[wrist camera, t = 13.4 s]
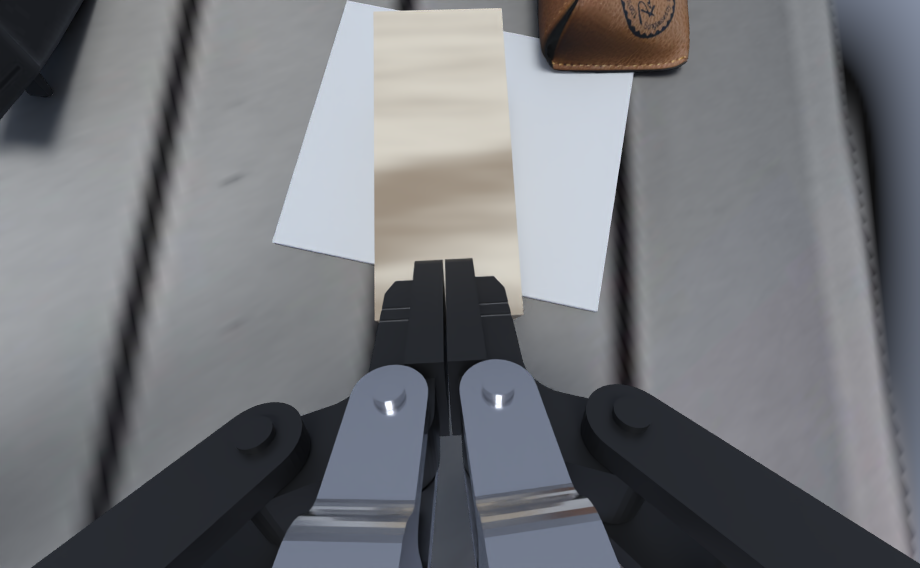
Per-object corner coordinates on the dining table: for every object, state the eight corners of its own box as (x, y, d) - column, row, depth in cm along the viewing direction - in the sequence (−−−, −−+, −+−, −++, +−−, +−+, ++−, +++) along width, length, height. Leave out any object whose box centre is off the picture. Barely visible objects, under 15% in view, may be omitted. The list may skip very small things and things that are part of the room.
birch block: (523, 314, 12) (501, 8, 14) (374, 320, 12) (373, 11, 14) (504, 323, 17) (489, 94, 19) (397, 327, 17) (394, 97, 19)
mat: (594, 311, 18) (597, 311, 18) (275, 243, 18) (272, 241, 18) (633, 61, 20) (635, 57, 20) (348, 5, 21) (347, 0, 20)
